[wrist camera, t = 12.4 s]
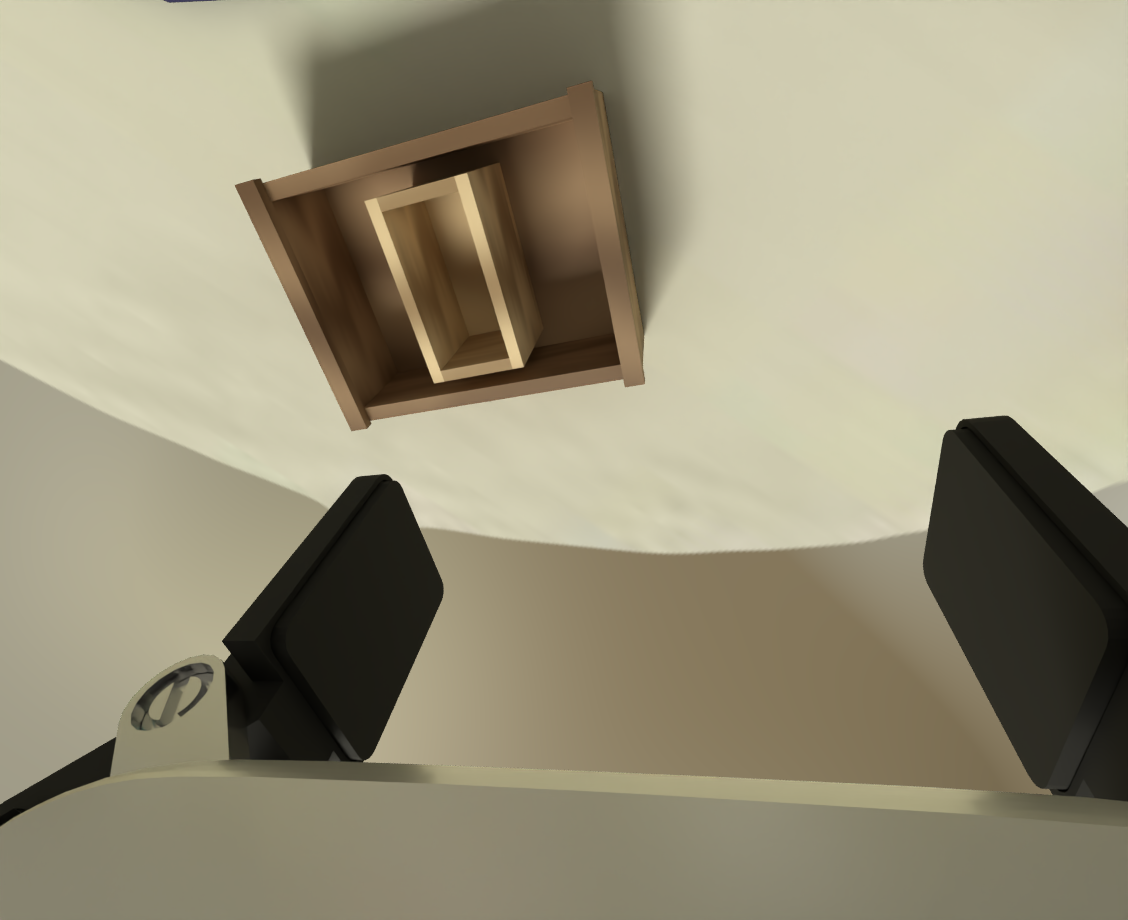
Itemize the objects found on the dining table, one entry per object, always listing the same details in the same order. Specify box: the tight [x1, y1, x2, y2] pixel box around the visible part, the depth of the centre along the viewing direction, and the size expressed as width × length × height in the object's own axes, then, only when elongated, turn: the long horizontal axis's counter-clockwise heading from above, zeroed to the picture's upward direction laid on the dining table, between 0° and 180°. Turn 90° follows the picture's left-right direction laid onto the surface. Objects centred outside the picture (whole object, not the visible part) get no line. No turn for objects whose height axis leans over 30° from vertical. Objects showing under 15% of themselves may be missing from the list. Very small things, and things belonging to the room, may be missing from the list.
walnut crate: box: [235, 81, 645, 431], centre depth 30 cm, size 13×17×7 cm
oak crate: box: [364, 162, 544, 383], centre depth 29 cm, size 9×5×6 cm, turn 13°
